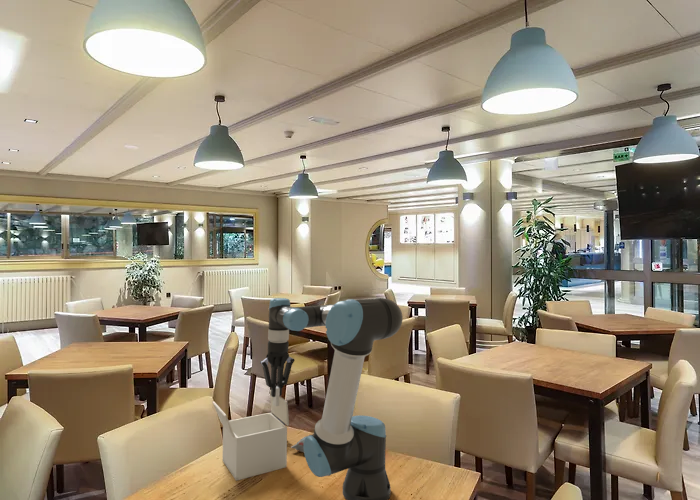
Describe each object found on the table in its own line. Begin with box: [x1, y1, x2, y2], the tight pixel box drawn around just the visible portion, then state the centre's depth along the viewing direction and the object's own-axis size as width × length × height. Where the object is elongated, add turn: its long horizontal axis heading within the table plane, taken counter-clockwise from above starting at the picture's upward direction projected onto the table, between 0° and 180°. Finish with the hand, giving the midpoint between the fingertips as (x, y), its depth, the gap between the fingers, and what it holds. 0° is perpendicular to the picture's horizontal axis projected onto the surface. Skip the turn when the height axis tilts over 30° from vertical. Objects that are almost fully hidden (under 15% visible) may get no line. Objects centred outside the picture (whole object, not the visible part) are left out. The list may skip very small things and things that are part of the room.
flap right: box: [269, 389, 290, 427], centre depth 160 cm, size 15×8×1 cm
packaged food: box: [290, 435, 309, 453], centre depth 165 cm, size 9×12×5 cm
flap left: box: [212, 400, 235, 438], centre depth 149 cm, size 15×8×1 cm
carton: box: [222, 412, 288, 481], centre depth 155 cm, size 16×18×14 cm
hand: (275, 404), depth 160 cm, fingers closed
